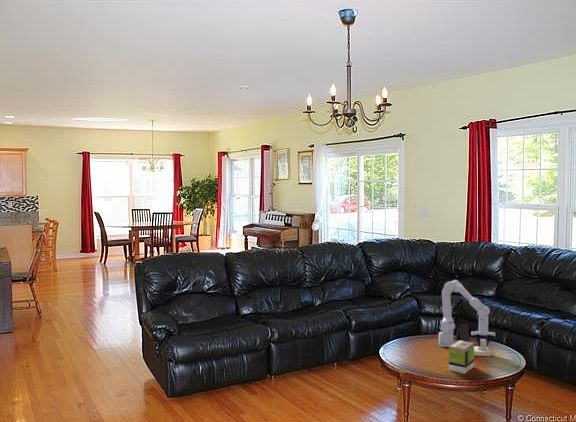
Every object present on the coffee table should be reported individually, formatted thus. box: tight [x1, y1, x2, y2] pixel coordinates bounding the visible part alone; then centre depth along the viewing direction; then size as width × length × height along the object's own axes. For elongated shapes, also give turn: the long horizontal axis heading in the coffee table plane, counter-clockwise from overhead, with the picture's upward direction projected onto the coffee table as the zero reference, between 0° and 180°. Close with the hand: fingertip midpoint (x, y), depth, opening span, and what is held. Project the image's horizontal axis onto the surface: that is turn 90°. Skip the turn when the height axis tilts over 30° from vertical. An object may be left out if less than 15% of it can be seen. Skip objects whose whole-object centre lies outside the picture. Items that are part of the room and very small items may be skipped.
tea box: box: [448, 340, 475, 374], centre depth 315 cm, size 15×10×15 cm
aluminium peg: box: [479, 338, 488, 350], centre depth 343 cm, size 4×4×6 cm
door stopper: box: [455, 323, 471, 342], centre depth 367 cm, size 9×6×12 cm, turn 14°
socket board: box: [474, 345, 492, 357], centre depth 343 cm, size 16×11×3 cm
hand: (482, 346), depth 343 cm, fingers closed on aluminium peg, 4 cm apart
